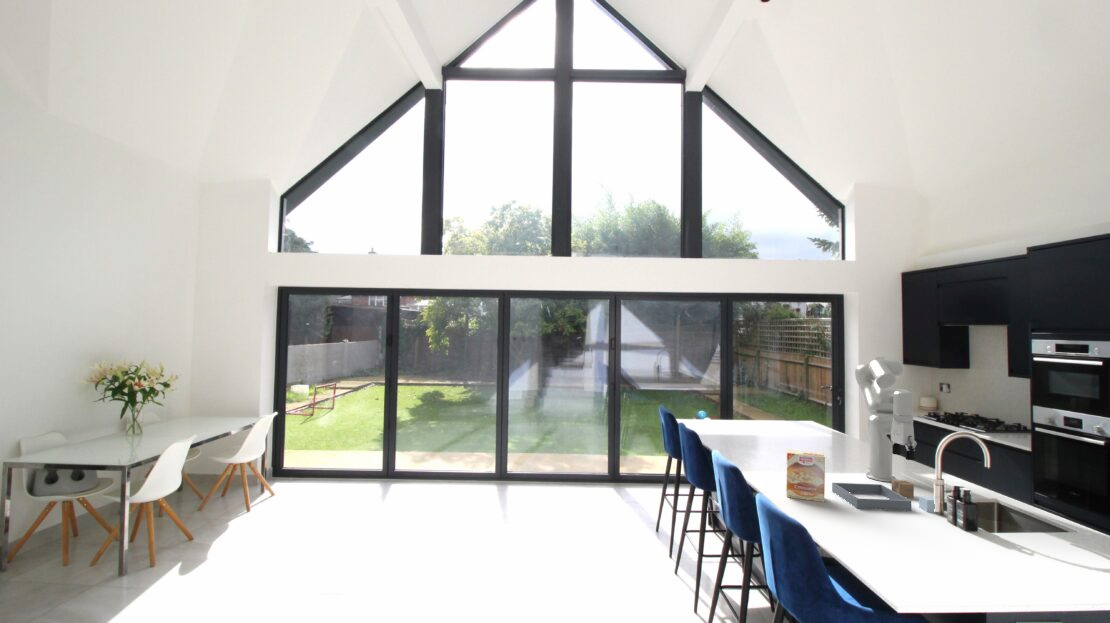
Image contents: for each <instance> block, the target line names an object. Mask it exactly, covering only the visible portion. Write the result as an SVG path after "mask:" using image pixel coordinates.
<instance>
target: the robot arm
mask: <svg viewBox="0 0 1110 623" xmlns="http://www.w3.org/2000/svg"><path fill="white" fill-rule="evenodd" d="M903 373H904V366H903V365H902V363H901V362H900V361H899V360H897V359H885V358H883V359H882V358H880V359H879V358H878V359H876V358H875V359H874V360H871V361H870V362H869V363H862V364H858V365H857V366H856V367H855V370H854V375H855V380H856V383H857V385H858V386H859V389H860V390H861V392H862V394H863V398H864V402H865V405H866V408H867V411H868V413H869V414H870V415H869V417H868V418H867V426H868V432H869V466H868V467H867V469H868V470H869V472H868V471H867V472H866V473H865V476H866V477H867V478H869V479H872V480H875V481H880V482H888V483H892V480H897V477H896V476H894V475H893V455H898V456H899V455H901V446H905V449H906V450H905V460H906V461H907V460H908V461H915V451H916V449H917V444H918V443H917V441H916V440H915V430H914V393H913V392H911V391H909V390H907V389H905V388H890V387H893V386H894V385H895V383H896V382H897V379H898V378H900V377H901V376H902V375H903ZM887 435H889V436H890V438H889V437H888V436H887Z"/></svg>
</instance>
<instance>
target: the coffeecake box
mask: <svg viewBox="0 0 1110 623" xmlns="http://www.w3.org/2000/svg"><path fill="white" fill-rule="evenodd" d="M785 465H786V466H785V467H786V472H785V477H786V478H785V479H786V480H785V495H786V498H790V497H791V498H792V499H798V500H805V499H806V500H807V501H812V500H813V502H820V501H821V503H824V502H825V485H826V484H825V483H826V479H825V478H826V476H825V475H826V456H825V454H824V453H822V452H812V451H803V450H793V449H786V464H785ZM806 500H805V501H806Z"/></svg>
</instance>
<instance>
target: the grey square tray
mask: <svg viewBox="0 0 1110 623" xmlns="http://www.w3.org/2000/svg"><path fill="white" fill-rule="evenodd" d="M831 491H833V492H832V493H834V494H835V493H836V494H835V495H836V496H838V495H839V496H838V497H840V498H841V497H842V498H843V500H844V499H845V500H846V501H845V500H844V501H845V502H847V503H848V502H849V505H851V504H852V505H851V506H853V507H854V508H855V509H858V510H859V509H861V510H879V509H881V510H880V511H903V510H906V511H908V512H911V511H912V500H911V499H910V498H905V497H903V496H901V495H900V494H898V493H896V492H894V491H892V489H891V488H889V487H887V486H885V485H883V484H881V483H880V484H879V483H877V484H876V483H857V482H856V483H854V482H853V483H851V482H832V484H831ZM849 492H855V493H854V494H871V493H876V495H877V494H878V495H882V496H883V497H884V498H887V499H883V498H882V499H880V498H864V497H863V498H861V497H857V496H856V495H854V494H853V493H849ZM842 498H841V499H842ZM888 498H889V499H888ZM906 511H905V512H906Z"/></svg>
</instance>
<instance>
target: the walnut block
mask: <svg viewBox="0 0 1110 623" xmlns="http://www.w3.org/2000/svg"><path fill="white" fill-rule="evenodd" d="M891 490H892V491H894V492H896V493H898V494H900V495H901V496H903V497H907V499H914V497H915V495H914V494H915V493H914V492H915V486H914V484H913V483H911V482H910V481H908V480H904V479H902V480H901V479H899V480H897V479H896V480H892V482H891Z"/></svg>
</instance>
